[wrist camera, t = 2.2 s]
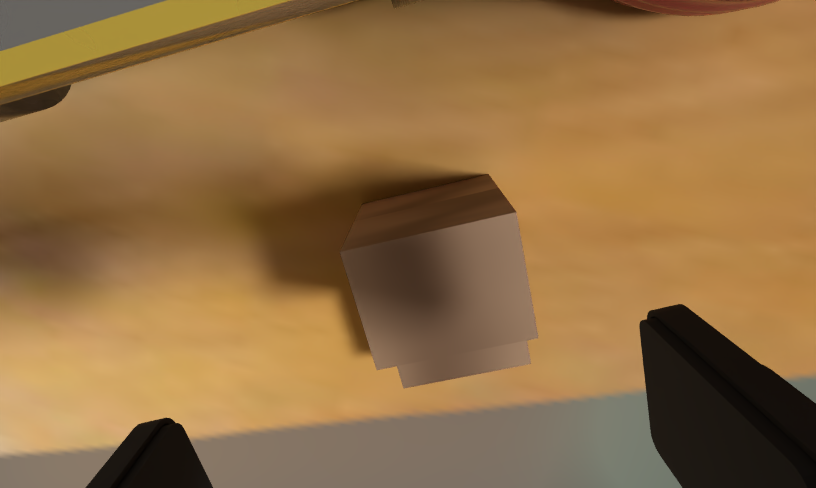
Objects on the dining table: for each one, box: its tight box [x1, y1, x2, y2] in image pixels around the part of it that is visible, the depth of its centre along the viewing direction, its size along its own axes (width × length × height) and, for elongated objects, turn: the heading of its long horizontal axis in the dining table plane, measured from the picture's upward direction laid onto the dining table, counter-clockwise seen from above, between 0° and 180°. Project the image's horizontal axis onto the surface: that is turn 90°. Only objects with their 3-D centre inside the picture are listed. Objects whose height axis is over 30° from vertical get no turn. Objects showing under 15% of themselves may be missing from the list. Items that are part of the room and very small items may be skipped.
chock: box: [340, 174, 538, 388], centre depth 16 cm, size 5×7×6 cm
